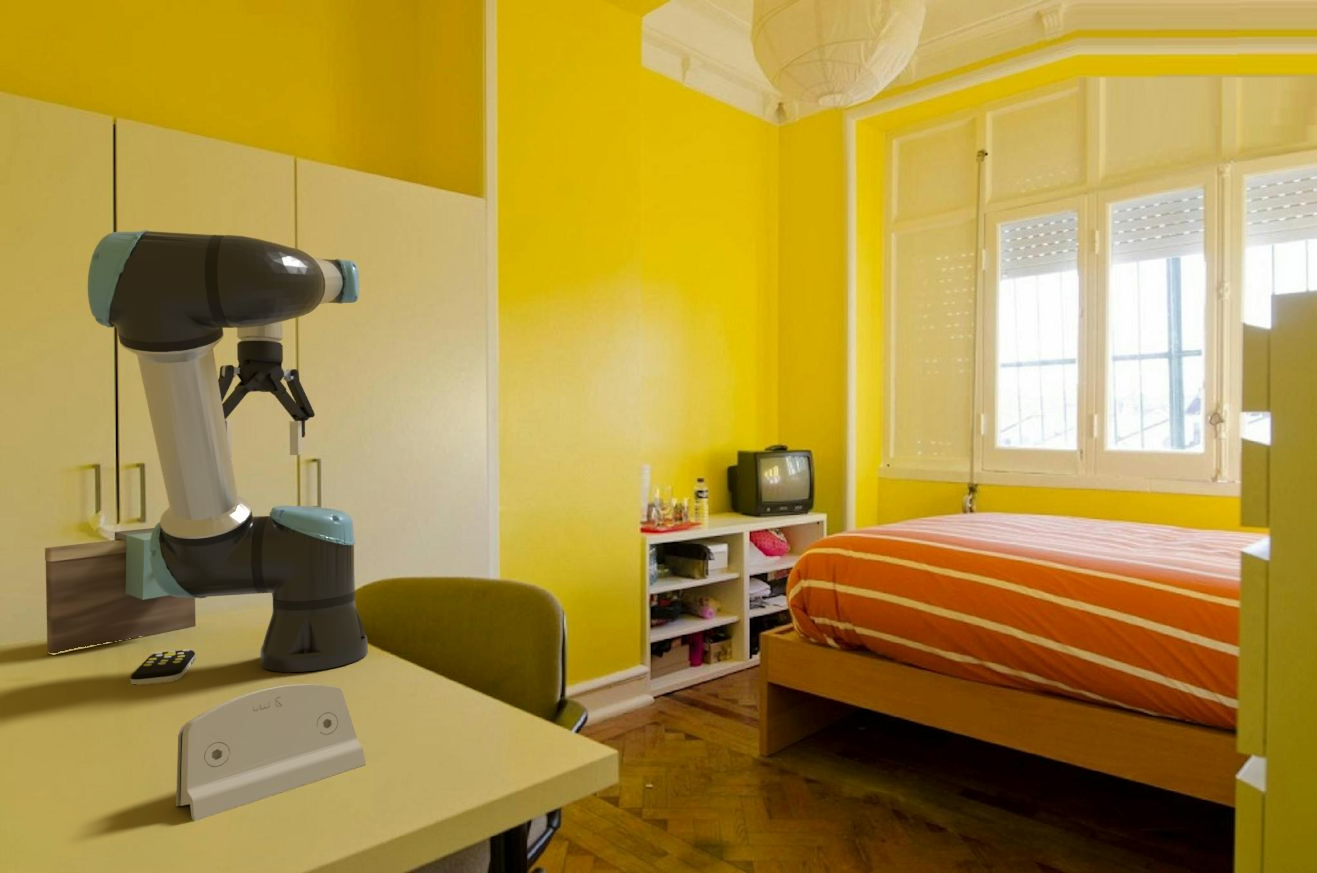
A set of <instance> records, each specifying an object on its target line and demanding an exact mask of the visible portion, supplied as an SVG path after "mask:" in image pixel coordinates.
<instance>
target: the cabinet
mask: <svg viewBox="0 0 1317 873" xmlns="http://www.w3.org/2000/svg"><path fill="white" fill-rule="evenodd" d="M154 528H155V527H152V528H151V527H150V528H149V527H148V528H142V529H133V530H130V529H128V530H121V531H114V540H124V541H126V592H125V594H128V595H131V596H134V597H137V598H140V599H142V600H144V599H150V598H156V597H161V596H167V595H168V594H167V593H165V592H164V591H163V590H162V589H161V588H160V586H159V585H158V583H157V581H156V579H155V577H154V574H153V571H152V568H151V563H150V557H151V551H150V550H149V549H150V538H151V534H152V531H153V529H154Z"/></svg>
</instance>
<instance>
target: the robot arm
mask: <svg viewBox="0 0 1317 873" xmlns="http://www.w3.org/2000/svg"><path fill="white" fill-rule="evenodd" d="M87 275H88V276H87V299H88V304H89V309H90V312H91V315H92V316H93V317H94V319H95V321H96V322H97V323H98V324H99V325H102V326H103V327H104V326H105V327H107V328H114V327H115V328H116V331H117V336H118V339H119V344H120V346H121V347H122V348H124V349H125V350H127V351H129V352H131V353H133V354H134V355H136V356H137V360H138V366H139V371H140V374H141V379H142V384H143V388H144V394H145V399H146V403H147V408H148V413H149V419H150V422H151V427H152V430H153V431H152V432H153V435H154V436H153V437H154V440H155V444H156V449H157V450H156V451H157V455H158V460H159V465H160V469H161V473H162V478H163V482H164V487H165V488H164V489H165V492H166V495H167V496H166V497H167V501H168V506H169V507H168V508H167V509H165V511H164V512H163V514H161V516H160V521H159V522H157V524H156V525H155V526H154V527H153V528H154V529H153V531H152V534H151V538H150V549H149V550H150V551H151V557H150V563H151V568H152V571H153V574H154V577H155V579H156V581H157V583H158V585H159V586H160V588H161V589H162V590H163V591H164V592H165V593H167V594H168V595H171V596H174V597H193V598H195V599H207V598H209V597H222V596H225V597H226V596H240V595H255V594H256V595H257V594H271V595H272V613H271V618H270V621H269V624H268V625H267V629H266V632H265V636H264V640H263V642H262V645H261V648H260V666H261V668H263V669H264V670H268V671H273V672H278V673H279V672H280V673H281V672H283V673H299V672H300V673H301V672H302V673H303V672H311V671H312V672H313V671H319V670H327V669H332V668H337V667H342V666H344V665H349V664H351V663H354V662H357V661H359V660H361V659H362V658H365V657H366V656H367V654H368V653H369V647H368V646H369V645H368V641H369V640H368V637H367V633H366V631H365V628H364V625H363V622H362V619H361V617H360V615H359V612H358V608H357V606H356V605H357V604H356V596H355V595H356V588H355V587H356V585H355V545H356V539H355V534H354V521H353V519H352V517H351V515H349V514H348V513H347V512H345V511H342V510H338V509H335V508H327V507H319V506H307V505H306V506H305V505H277V506H274V507H272V508H271V511H270V512H269V515H264V516H263V515H259V516H257V515H256V516H253V511H252V507H251V504H250V502H249V501H248V500H247V499H246V498H245V497H243V496H242V495H238V492H237V485H236V479H235V473H234V468H233V462H232V457H233V455H232V454H233V452H232V446H233V445H232V420H227V419H228V417H229V416H230V415H231V414H232V413H233V411H234V410H235V409H236V408H237V406H238V405H239V404H240V403H241V402H242V400H243V399H244V398H245V396H247V395H248V394H249V393H251V392H253V393H254V392H255V393H256V392H261V393H270V394H271V395H273V396H274V397H275V398H276V400H277V401H278V402H279V403H280V404H281V406H282V407H283V408H284V409H285V410H286V412H287V414H289V416H290V417H291V418H292V419H293V421H291V420H290V421H289V422H288V423H289V455H290V456H302V455H303V438H305V436H306V421H308V420H309V419H310V418H314V417H315V411H314V409H313V406H312V405H311V403H310V400H309V399H308V396H307V394H306V392H305V390H304V388H303V386H302V383H301V381H300V374H299V370H298V369H295V368H292V369H285V370H284V369H283V368H282V366H283V365H282V364H283V361H284V358H283V356H284V355H283V354H284V351H283V350H284V348H283V344H282V343H281V342H280V341H282V340H283V338H284V334H283V331H284V330H283V322H285V321H289V320H292V319H296V318H300V317H302V316H305V315H307V314H309V313H311V312H313V311H314V310H315V309H317V307H318V306H319V305H322V304H350V303H351V304H352V303H356V302H357V301H358V299H359V297H360V276H359V267H358V265H357V264H356V262H354V261H352V260H347V259H346V260H343V259H339V258H336V259H330V258H329V259H328V258H327V259H323V258H318V257H317V258H316V257H312V256H311V255H309V254H308V253H306V252H305V251H303V250H301V249H298V248H295V247H291V246H287V245H283V244H279V243H276V242H272V241H267V240H264V239H261V238H260V239H259V238H256V237H249V236H244V235H234V234H233V235H231V234H224V235H223V234H203V233H201V234H200V233H186V232H182V233H181V232H171V231H170V232H169V231H167V232H166V231H150V230H149V229H143V230H139V231H114V232H111V233H108V234H106V235H105V236H104V237H102V238H101V239H100V240H99V242H98V243H97V244H96V245H95V248H94V251H93V254H92V256H91V261H90V263H89V269H88V274H87ZM223 328H224V329H227V328H228V329H233V328H234V329H235V328H236V330H237V332H236V335H237V336H236V337H237V339H239V340H240V341H238V342H237V343H236V348H237V349H236V353H237V356H236V357H237V361H238V366H234V365H233V364H227V365H226V364H225V365H221V366H220V368H219V375H218V371H217V366H216V359H215V353H214V348H215V347H216V346H218V344H219V343H220V342H221V340H222V339H223V338H224V329H223ZM218 376H219V377H218ZM236 376H237V377H238V378H239V380H240V381H239V382H238V383H237V385H236V386H235V387H234V390H233V391H232V392H231V393H230V394H229V396H227V398H226V399H225V397H226V395H227V393H228V391H229V389H230V386H231V385H232V383H233V380H234V378H236ZM282 380H284V381H285V382H286V385H287V388H288V389H289V392H290V393H289V392H288V391H287V388H286V386H285V385H284V383H283V382H282ZM290 394H291V395H290ZM292 397H293V398H292ZM224 399H225V400H224Z"/></svg>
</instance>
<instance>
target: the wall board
mask: <svg viewBox="0 0 1317 873" xmlns="http://www.w3.org/2000/svg"><path fill="white" fill-rule="evenodd" d="M44 561H45V594H46V596H45V597H46V644H47V645H46V649H47V652H49V653H58V652H60V651H65V650H69V649H74V648H78V647H85V646H86V647H87V646H90V645H97V644H103V643H106V642H115V641H119V640H126V639H129V638H135V639H137V638H136V637H139V636H145V637H147V636H146V635H150V636H153V635H158V634H157V633H159V634H163V633H168V631H169V632H174V631H177V629H178V630H183V629H187V628H186V627H188V628H192V626H193V627H196V598H193V597H174V596H171V595H167V596H161V597H156V598H150V599H144V600H142V599H140V598H137V597H134V596H131V595H128V594H125V592H126V541H124V540H115V539H114V540H105V541H97V542H86V543H77V544H68V545H60V546H52V547H44ZM126 641H127V640H126Z"/></svg>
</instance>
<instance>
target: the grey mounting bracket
mask: <svg viewBox="0 0 1317 873" xmlns="http://www.w3.org/2000/svg"><path fill="white" fill-rule="evenodd" d="M176 754H177V756H176V757H177V758H176V759H177V761H176V762H177V763H176V792H175V793H176V794H175V795H176V797H175V806H176V807H182V806H187V805H189V807H190V814H191V816H190V817H191V820H192V821H194V822H197V821H200V820H202V819H206V818H208V817H211V816H215V815H217V814H221V813H224V812H227V811H230V810H233V809H236V808H239V807H242V806H245V805H247V804H251V803H254V802H256V801H260V800H263V799H266V798H269V797H272V796H275V795H278V794H281V793H284V792H287V791H290V790H293V789H296V788H299V787H300V788H301V787H302V786H305V785H308V784H311V783H314V782H317V781H321V780H323V779H326V778H329V777H332V776H335V775H339V774H342V773H344V772H347V771H351V770H354V769H357V768H361V767H364V766H365V765H366V758H365V752H364V747H363V745H362V744H361V743H360V741H359V739H358V737H357V734H356V730H355V728H354V723H353V721H352V717H351V714H350V710H349V707H348V704H347V701H346V697H345V694H344V692H343V690H342V689H341V688H340V687H338V686H334V685H333V686H332V685H326V684H325V685H324V684H313V683H312V684H311V683H309V684H307V683H304V684H303V683H302V684H301V683H299V684H287V685H279V686H274V687H268V688H262V689H259V690H256V691H252V692H249V693H245V694H243V695H242V694H241V695H240V696H237V697H235V698H231V699H229V700H227V701H224V702H222V703H220V704H218V705H216V706H214V707H212V708H210V709H208V710H206V711H204V712H202V713H201V714H199V715H196V716H195V717H194V718H192V719H190V720H188V721H187V722H186V723H185V724H183V725H182V727H181V728H180V729H179V731H178V734H177V753H176Z"/></svg>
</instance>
